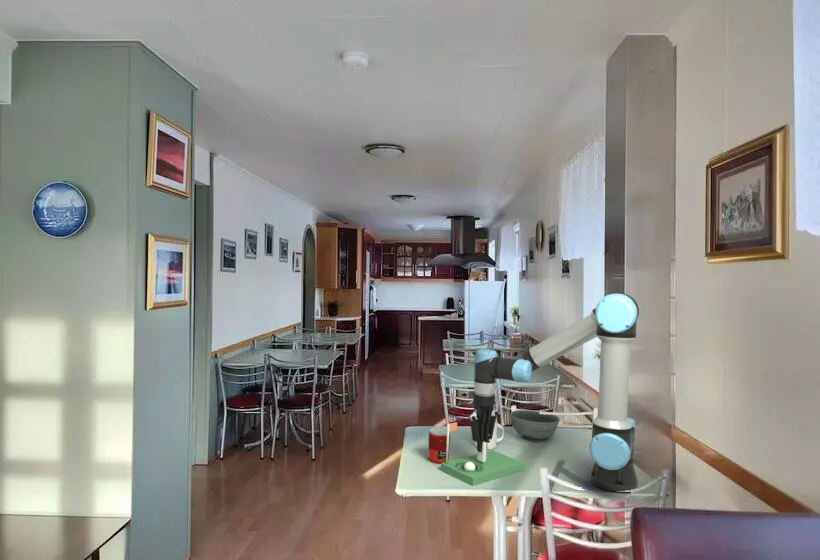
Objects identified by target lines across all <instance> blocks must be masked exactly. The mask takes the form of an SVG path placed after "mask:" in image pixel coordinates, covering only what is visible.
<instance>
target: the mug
mask: <svg viewBox="0 0 820 560" xmlns="http://www.w3.org/2000/svg"><path fill="white" fill-rule="evenodd" d="M498 429H501V430H502V436H500V437H499V438H497V437H498V436H497V434H498ZM504 437H505V430H504V426H502V425H501V424H500V423H498V420H497V419H496V421H495V426H494V431H493V436H492V439H490V440H489V441H490V442H489V443H488V442H487V449H490V450H494V449H496V447H497V444H498V443H500V442H501V441H502V440H503V438H504ZM474 446H475V447H476V448H477V442H476V441H474Z"/></svg>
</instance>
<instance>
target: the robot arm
mask: <svg viewBox="0 0 820 560" xmlns="http://www.w3.org/2000/svg"><path fill="white" fill-rule="evenodd" d="M639 315H640V308H639V304H638V303H637V301H636V300H635V299H634V297H632V296H631V295H629V294H626V293H622V292H621V293H619V292H618V293H610V294H608V295H605V296H603V297H602V298H601V299H600V300H599V301H598V303H597V305H596V307H595V308H593V309H592V310H591V313H590V314H588V315H587V316H585V317H584V318H582V319H580V320H578V321H576V322H575V323H573V324H571V325H569V326H568V327H565V328H564V329H562V330H560V331H559V332H557V333H555V334H553V335H552V336H549V337H548V338H546V339H544V340H542V341H541V342H539V343H538V344H536V345H534V346H532V347H531V348H529V349H526V350H525V351H523V352H521V353H519V354H517V355H516V356H514V357H502V356H501V357H500V356H498V352H497V351H496V350H494V349H487V348H485V349H483V348H482V349H481V348H480V349H478V350H476V351H475V355H474V374H473V376H474V379H473V392H474V393H473V397H472V403H473V406H474V407H473V408H474V409H473V413H471V414H468V416H467V418H468V420H469V422H470V423H469V424H470V431H471V438H472V441H474V442H475V441H476V442H477V447H476V452H477V454H478V456H477V460H479V461H482V462H485V461H486V452H487V451H488V450H487V442H488V443H489V442H490V441H489V440H490V439H492V436H493V431H494V426H495V421H496V420H497V418H498V416H499V412H498V411H496V410H494V406H495V403H496V396H495V393H496V383H497V382H496V381H497V380H505V381H510V382H517V383H528V382H529V381H530V380H531V377H532V372H534V371H536V370H538V369H540V368H542V367H543V366H545V365H547V364H549V363H551V362H553V361H555V360H557V359H558V358H560V357H561V356H564V355H565V354H567V353H569V352H571V351H573V350H575V349H577V348H578V347H580V346H582V345H584V344H586V343H588V342H590V341H592V340H593V339H595V338H598V339H599V340H600V356H599V358H600V362H599V381H598V383H599V385H598V406H597V416H596V417H595V418H594V419H593V420H592V425H591V426H592V427H591V428H592V431H591V440H590V442H589V446H588V447H589V448H588V449H589V454H590V457H591V459H592V461H593V462H594V465H593V467H592V470H591V471H590V483H591V484H592V485H593V486H595V487H597V488H599V489H602V490H603V491H604V490H605V491H607V490H608V492H612V491H625V490H631V489H635V488H638V489H639V479H638V476H637V475H638V474H637V471H636V468H635V463H634V462H635V460H634V459H635V458H634V457H635V440H636V437H635V436H636V429H637V426H636V421H635V420H634V418H631V417H628V408H629V407H628V404H629V403H628V402H629V384H630V382H629V381H630V378H629V377H630V362H631V361H630V359H631V357H630V356H631V343H633V341H635V340H636V338H637V321H638V318H639ZM496 379H497V380H496Z"/></svg>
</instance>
